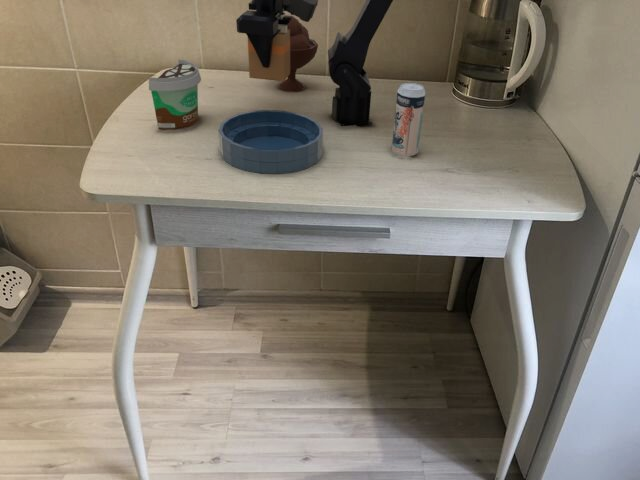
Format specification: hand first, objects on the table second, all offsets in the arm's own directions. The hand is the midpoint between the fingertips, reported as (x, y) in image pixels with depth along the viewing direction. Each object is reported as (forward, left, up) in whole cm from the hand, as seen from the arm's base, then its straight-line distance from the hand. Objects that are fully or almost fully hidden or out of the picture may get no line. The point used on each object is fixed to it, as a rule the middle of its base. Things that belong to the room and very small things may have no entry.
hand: (270, 63), depth 110 cm
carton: (0, 0, -2) cm, 2 cm away
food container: (+16, 0, -11) cm, 19 cm away
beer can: (-19, +21, -11) cm, 30 cm away
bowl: (+4, +16, -11) cm, 19 cm away
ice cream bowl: (-9, -16, -11) cm, 21 cm away
